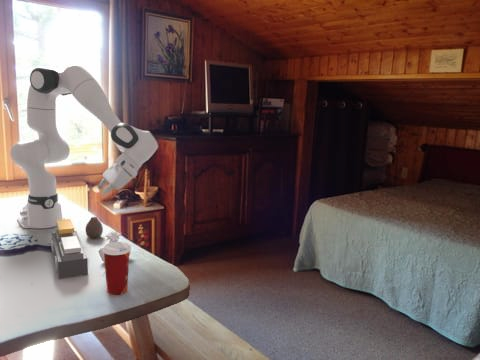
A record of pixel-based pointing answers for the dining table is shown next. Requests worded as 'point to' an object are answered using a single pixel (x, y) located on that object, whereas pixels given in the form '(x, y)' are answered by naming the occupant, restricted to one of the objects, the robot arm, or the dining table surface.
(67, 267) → the power strip
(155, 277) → the dining table surface
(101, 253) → the bust
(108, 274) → the coffee cup
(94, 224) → the vase
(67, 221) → the amber switch
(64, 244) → the white flat block
